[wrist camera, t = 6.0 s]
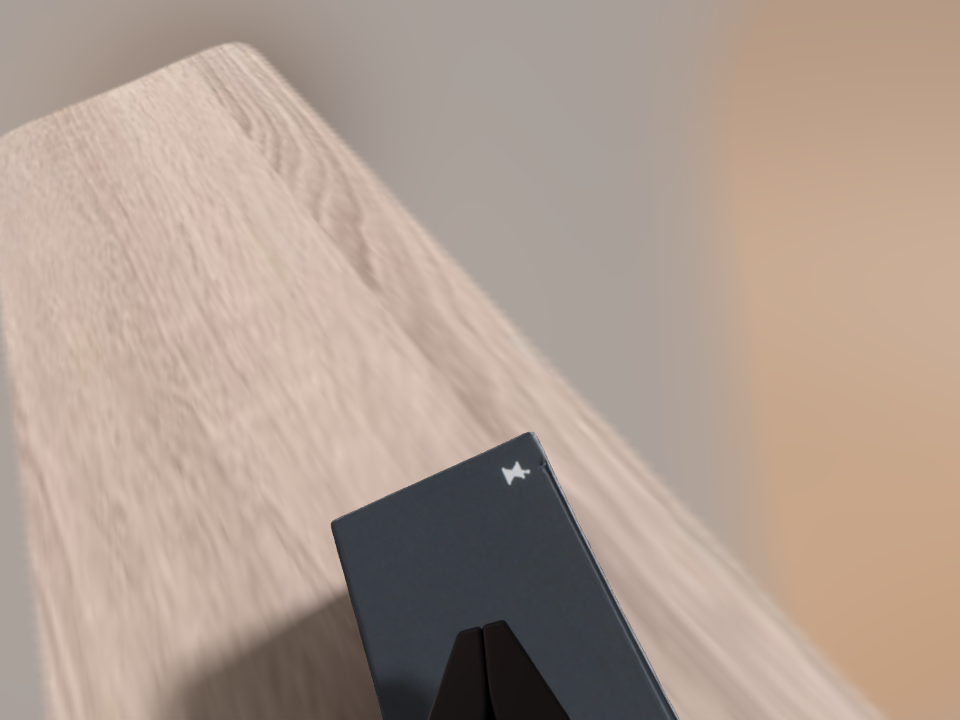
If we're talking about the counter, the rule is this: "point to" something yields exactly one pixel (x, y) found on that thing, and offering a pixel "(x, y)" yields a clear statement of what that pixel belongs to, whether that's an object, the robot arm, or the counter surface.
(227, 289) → the counter surface
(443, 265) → the counter surface
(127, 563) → the counter surface
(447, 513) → the box
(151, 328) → the counter surface
